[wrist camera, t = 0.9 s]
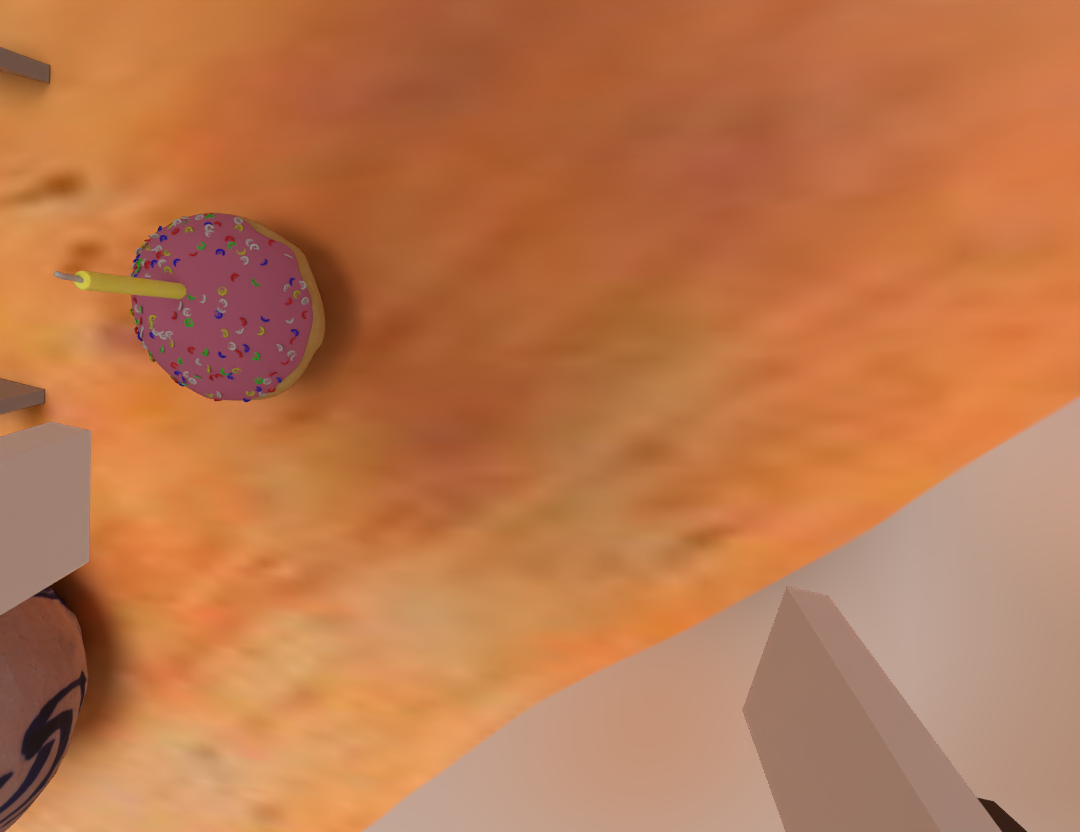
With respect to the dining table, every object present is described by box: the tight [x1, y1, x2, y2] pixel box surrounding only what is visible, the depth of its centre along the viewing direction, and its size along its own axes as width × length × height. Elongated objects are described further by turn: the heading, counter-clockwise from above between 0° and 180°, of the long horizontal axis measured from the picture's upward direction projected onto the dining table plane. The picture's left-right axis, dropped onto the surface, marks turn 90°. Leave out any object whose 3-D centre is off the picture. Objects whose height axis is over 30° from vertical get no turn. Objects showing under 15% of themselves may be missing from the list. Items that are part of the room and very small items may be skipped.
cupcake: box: [54, 213, 325, 402], centre depth 26 cm, size 9×8×12 cm
